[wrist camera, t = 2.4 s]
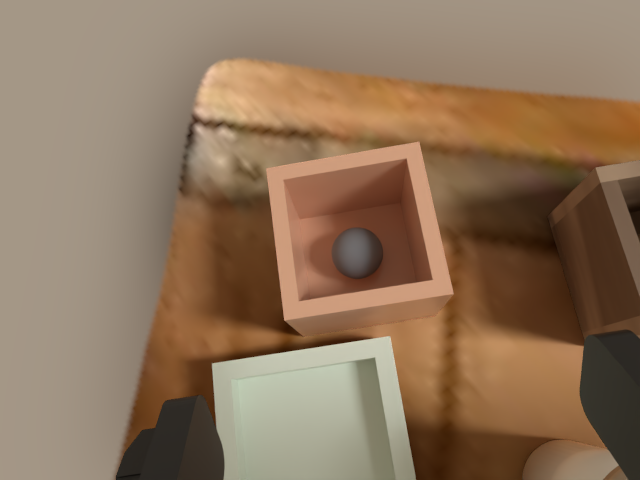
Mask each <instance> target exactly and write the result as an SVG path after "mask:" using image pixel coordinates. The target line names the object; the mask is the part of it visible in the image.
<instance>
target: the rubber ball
mask: <svg viewBox="0 0 640 480" xmlns="http://www.w3.org/2000/svg"><path fill="white" fill-rule="evenodd" d="M331 254H332V260H333V263H334V265H335V267H336V268H337V270H338V271H339V272H340V273H342V274H343V275H345V276H347V277H349V278H353V279H362V278H366V277H368V276H370V275H372V274H373V273H374V272H375V271H376V270H377V269H378V268H379V266H380V264H381V262H382V259H383V248H382V244H381V242H380V240H379V239H378V237H377V236H376V235H375V234H374V233H373V232H371V231H370V230H367V229H365V228H360V227H355V228H350V229H347V230H345V231H343V232H342V233H341V234H339V235H338V237H337V238H336V239H335V241H334V243H333V246H332V253H331Z"/></svg>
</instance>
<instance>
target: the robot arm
mask: <svg viewBox="0 0 640 480" xmlns="http://www.w3.org/2000/svg"><path fill="white" fill-rule="evenodd" d="M580 398H581V403H582V406H583V409H584V412H585V414H586V416H587V418H588V420H589V422H590V423H591V425H592V426H593V428H594V429H595V431H596V432H597V434H598V435H599V437H600V438H601V440H602V441H603V443H604V444H605V446H606V447H607V449H608V450H609V452H610V453H611V455H612V456H613V458H614V459H615V461H616V462H617V464H618V465H619V466H620V468H621V469H622V471H623V472H624V474H625V475H626V477H627V478H628V480H640V338H639V337H638V336H637V335H636V334H634V333H633V332H632V331H630V330H627V329H624V330H618V331H612V332H605V333H599V334H593V335H588V336H587V337H586V339H585V342H584V351H583V361H582V371H581V381H580ZM224 469H225V463H224V452H223V447H222V443H221V440H220V437H219V435H218V432H217V429H216V427H215V424H214V421H213V418H212V416H211V413H210V410H209V408H208V405H207V402H206V400H205V398H204V397H203V396H202V395H197V396H190V397H184V398H178V399H171V400H167V401H165V402H164V404H163V406H162V409H161V412H160V415H159V418H158V421H157V424H156V428H152V429H146V430H142V431H141V432H140V434H139V435H138V436H137V438H136V439H135V440H134V441H133V443H132V444H131V445H130V447H129V448H128V449H127V450H126V452H125V453H124V456H123V459H122V462H121V464H120V467H119V470H118V472H117V475H116V480H223V479H224Z"/></svg>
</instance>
